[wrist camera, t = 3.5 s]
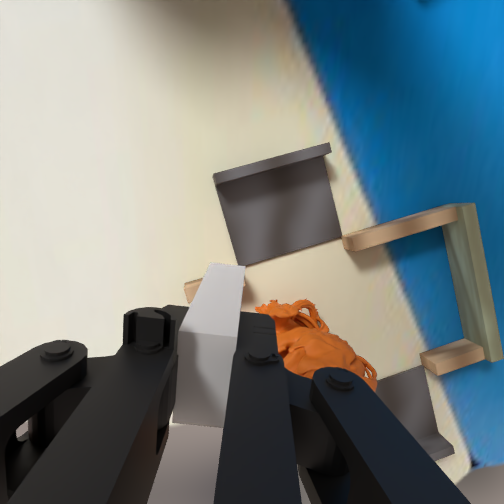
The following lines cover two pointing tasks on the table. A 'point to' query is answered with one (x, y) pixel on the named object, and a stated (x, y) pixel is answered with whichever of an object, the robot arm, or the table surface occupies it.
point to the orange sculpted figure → (312, 342)
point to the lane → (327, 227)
